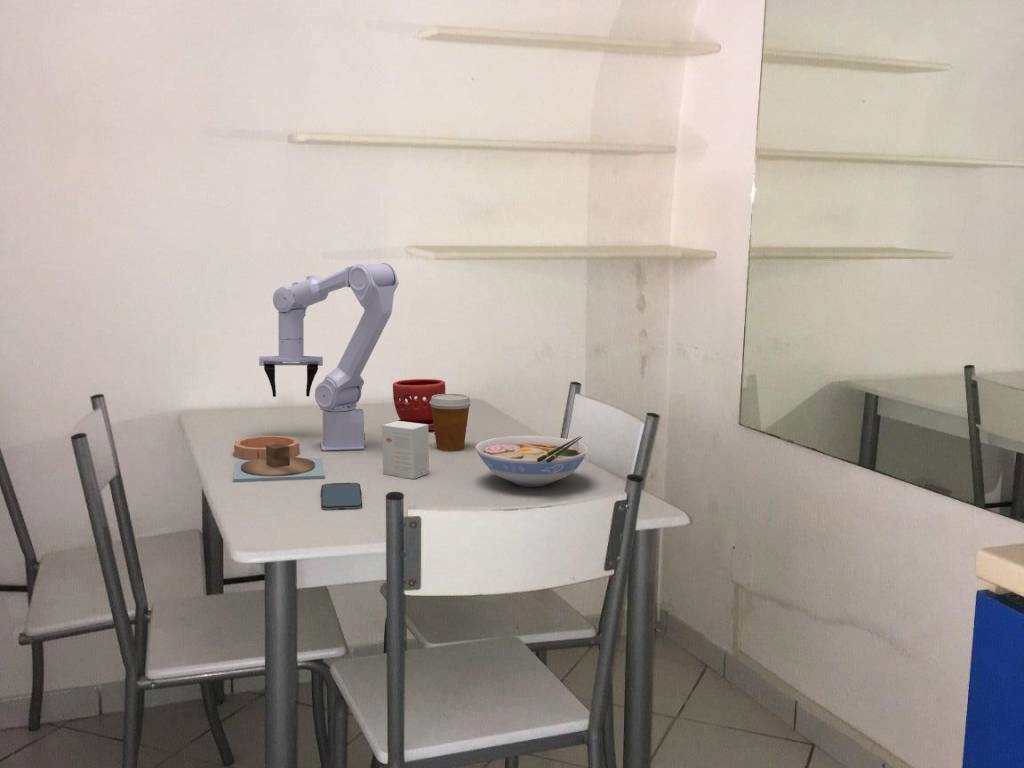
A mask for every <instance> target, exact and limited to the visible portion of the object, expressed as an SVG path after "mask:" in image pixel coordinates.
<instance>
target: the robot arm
mask: <svg viewBox="0 0 1024 768" xmlns="http://www.w3.org/2000/svg"><path fill="white" fill-rule="evenodd" d="M399 284H400V283H399V280H398V276H397V273H396V270H395V268H394V267H393V266H392V264H390V263H386V262H383V263H382V262H381V263H373V264H363V263H358V264H355V265H351V266H347V267H345V268H344V269H341V270H339V271H336V272H335V273H333V274H331V275H329V276H326V277H324V278H322V277H321V276H315V275H312V274H311V275H307V276H306V279H305V280H302V281H300V282H299V281H294V282H292V283H291V286H288V287H286V286H280V287H279V288H277V289H276V290H275V291H274V293H273V296H272V302H273V307H274V308H275V309H276V310H277V311H278V313H277V314H278V316H277V317H278V318H277V319H278V355H268V356H266V355H265V356H259V357H258V358H259V359H258V362H259V363H258V365H259V366H260V367H263V370H264V372H265V374H266V377H267V378H268V381H269V384H270V387H271V392H272V397H274V398H276V397H277V389H276V366H306V386H305V387H306V389H305V391H306V392H305V395H306V397H310V395H311V394H310V393H311V388H312V386H313V383H314V382H313V381H314V379H315V377H316V375H317V373H318V370H319V367H320V366H321V367H322V366H324V365H323V364H324V362H323V361H324V360H323V359H324V356H312V355H304V354H305V353H304V346H305V345H304V343H305V342H304V329H305V327H304V323H305V322H304V318H305V317H306V311H307V309H308V307H310V306H312V305H315V304H317V303H319V302H323V301H325V300H327V298H328V295H329V293H331V292H335V291H337V290H338V291H339V290H340V289H343V288H350V289H351V290H352V292H353V294H354V296H355V298H356V299H357V301H358V302H359V304H360V306H361V307H362V308H363V309H364V311H363V314H362V316H361V318H360V319H359V321H358V324H357V326H356V328H355V330H354V332H353V334H352V335H351V338H350V340H349V342H348V344H347V346H346V348H345V350H344V351H343V354H342V357H341V359H340V360H339V363H338V364H337V366H336V367H335V368H334V369H332V371H330V372H328V373H327V374H326V375H325V377H324V379H323V380H322V381H321V382H319V383H318V384H317V386H316V388H315V390H314V398H315V401H316V403H317V405H318V407H320V411H322V441H320V447H321V450H322V451H325V452H326V451H345V450H346V451H348V450H349V451H350V450H353V451H354V450H364V449H365V441H366V436H365V435H366V433H365V418H364V417H365V415H364V409H363V408H357V403H358V402H360V400H361V397H362V388H363V386H364V384H365V380H364V379H363V377H362V376H361V375H362V373H363V371H364V369H365V366H366V365H367V364H368V363H367V362H368V361H369V359H370V357H371V355H372V353H373V351H374V349H375V347H376V345H377V343H378V341H379V339H380V337H381V335H382V334H383V332H384V330H385V327H386V325H387V323H388V321H389V320H390V317H391V315H392V311H393V303H394V297H395V292H396V290H397V288H398V286H399ZM259 366H258V367H259Z"/></svg>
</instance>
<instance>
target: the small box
mask: <svg viewBox="0 0 1024 768" xmlns="http://www.w3.org/2000/svg"><path fill="white" fill-rule="evenodd" d="M381 427H382V428H381V429H382V436H381V437H382V475H387V476H393V477H399V478H405V479H412V480H416V479H418V478H420V477H423V476H425V475H428V474H430V452H429V451H430V448H429V447H430V446H429V445H430V444H429V442H430V441H429V435H430V434H429V431H428V424H420V423H412V422H404V421H398V420H395V421H393V422H389V423H385V424H384V423H383V424H382V426H381Z"/></svg>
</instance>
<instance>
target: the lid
mask: <svg viewBox="0 0 1024 768" xmlns="http://www.w3.org/2000/svg"><path fill="white" fill-rule="evenodd" d="M314 468H315V463H314V462H313V461H312V460H309V459H305V458H304V457H297V456H294V457H290V450H289V446H287V445H284V444H274V445H267V446H266V458H260V459H255V460H251V461H248V462H245V463H243V464H242V465H241V471H243V472H244V473H247V474H251V475H257V476H289V475H296V474H302V473H305V472H309V471H311V470H313V469H314Z"/></svg>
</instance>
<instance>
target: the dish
mask: <svg viewBox="0 0 1024 768" xmlns="http://www.w3.org/2000/svg"><path fill="white" fill-rule="evenodd" d="M274 444H284V445H287V446H289V450H290V457H297V456H299V455H300V439H298V438H295V437H292V436H284V435H283V436H282V435H260V436H259V435H258V436H257V435H256V436H252V437H250V436H249V437H244V438H241V439H238V440H236V441H234V444H233V446H234V447H233V448H234V449H233V451H234V455H233V456H234V457H235V458H238V459H241V460H244V461H247V460H255V459H260V458H266V446H267V445H274Z"/></svg>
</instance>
